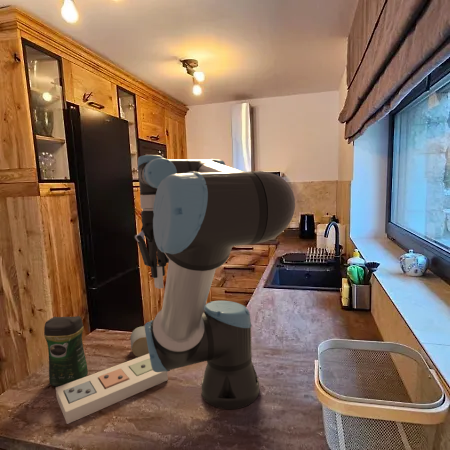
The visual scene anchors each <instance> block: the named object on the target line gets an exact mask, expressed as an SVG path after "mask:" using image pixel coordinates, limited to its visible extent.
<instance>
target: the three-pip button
mask: <svg viewBox="0 0 450 450" xmlns="http://www.w3.org/2000/svg"><path fill="white" fill-rule="evenodd" d="M64 391H65V397H66V399H67V401H68V403H69V404H70V403H72V402H75V401H77V400H80V399H82V398H85V397H87V396H90V395H92V394H95V393H96V392H95V390H94V388H93V387H92V385H91V384H90V382H89V381H88V382H85V383H83V384H80V385H77V386H75V387H72V388H69V389H67V390H64Z"/></svg>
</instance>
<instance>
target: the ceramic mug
mask: <svg viewBox="0 0 450 450" xmlns="http://www.w3.org/2000/svg"><path fill="white" fill-rule="evenodd" d="M129 339H130V350H131V352H132V354H133V355H134V356H135V357H136V358H138V357H141V356H143V355H146V354H149V351H148V345H147V339H146V333H145V325H143V326H142V325H141V326H139V327H136V328H135V329H133V330H132V331H131V334H130V337H129Z"/></svg>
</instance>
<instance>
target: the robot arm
mask: <svg viewBox="0 0 450 450" xmlns="http://www.w3.org/2000/svg"><path fill="white" fill-rule="evenodd" d="M137 173H138V183H139V184H138V185H139V198H140V199H139V200H140V209H142V210H141V211H140V217H141V218H140V219H141V228H140V231H139V232H138V233H137V234H134V236H133V238H134V240H135V241H136V242H137V244H138V247H139V252H140V253H141V259H142V261H143V263H144V265H145V266H146V267H150V271H151V272H150V273H151V275H150V276H151V278H153V279H154V280H153V281H154V282H153V283H154V288H156V289H159V290H161V289H164V294H163V299H162V308H161V310H159V311H158V312H157V314H156V315H155V318H154V319H153V320H150V321H147V322H146V323H145V324H144V326H145V333H146V339H147V345H148V351H149V356H150V362H151V367H152V369H153V371H155V372H164V371H166V372H167V373H168V372H170V371H171V370H175V369H179V368H183V367H188V366H190V365H191V366H192V365H196V364H200V363H203V362H206V366H205V368H204V369H205V370H204V375H203V378H202V380H201V395H202V398H203V399H204V401H205V402H206V403H208V404H209V405H211V406H212V407H215V408H219V409H221V410H222V409H223V410H224V409H225V410H235V409H241V408H244V407H246V406H249V405H250V404H252V403H254V402H255V400H257V398H258V396H259V394H260V379H259V377H258V375H257V371H256V370H255V366H254V364H253V359H252V355H253V354H252V321H251V314H250V313H251V312H250V311H249V308H248V307H246V306H245V305H243V304H241V303H239V302H236V301H231V300H214V301H213V300H212V301H210V302H207V300H208V298H209V293H210V290H211V287H212V284H213V280H214V277H215V273H216V272H217V271H216V270H217V269H219V268H220V267H222V266H223V265H225V263H226V262H227V261H228V259H229V257H230V255H231V252H232V250H233V249H232V248H233V247H237V246H246V245H255V244H260V243H261V244H262V243H264V242H268V241H270V240H273V239H275V238H277V237H278V236H280V235H281V234H282V233H283V232H284V231H285V230H286V229H287V228H288V226H289V225H290V224H291V221H292V220H293V217H294V214H295V209H296V198H295V194H294V192H293V189H292V187H291V186H290V184H289V183H288V182H287V181H286V179H284V178H283V177H281V176H279V175H277V174H274V173H271V172H268V171H267V172H266V171H262V170H256V171H244V170H240V169H238V168H234V167H231V166H228V165H227V164H226V162H225V161H224V160H222V159H215V158H209V159H207V158H206V159H203V158H202V159H183V158H182V159H177V158H176V159H171V158H170V159H168V158H164V157H163V155H158V154H145V155H141V156H139V157H138V158H137ZM145 239H147V242H146V240H145ZM146 243H147V244H146ZM147 245H148V246H147ZM167 265H168V266H167ZM166 266H167V272H165V271H166V270H165V269H166ZM165 275H166V279H165V286H164V277H165Z"/></svg>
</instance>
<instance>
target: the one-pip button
mask: <svg viewBox="0 0 450 450" xmlns="http://www.w3.org/2000/svg"><path fill="white" fill-rule="evenodd" d="M129 368H130V369H131V371H132V372H133V373H134V374H135V375H136V376H139V375H142V374H144V373H147V372H149V371H152V370H153V369H152V367H151V362H150V359H146V360H144V361H141V362H138V363H136V364H133V365H130V366H129Z"/></svg>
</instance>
